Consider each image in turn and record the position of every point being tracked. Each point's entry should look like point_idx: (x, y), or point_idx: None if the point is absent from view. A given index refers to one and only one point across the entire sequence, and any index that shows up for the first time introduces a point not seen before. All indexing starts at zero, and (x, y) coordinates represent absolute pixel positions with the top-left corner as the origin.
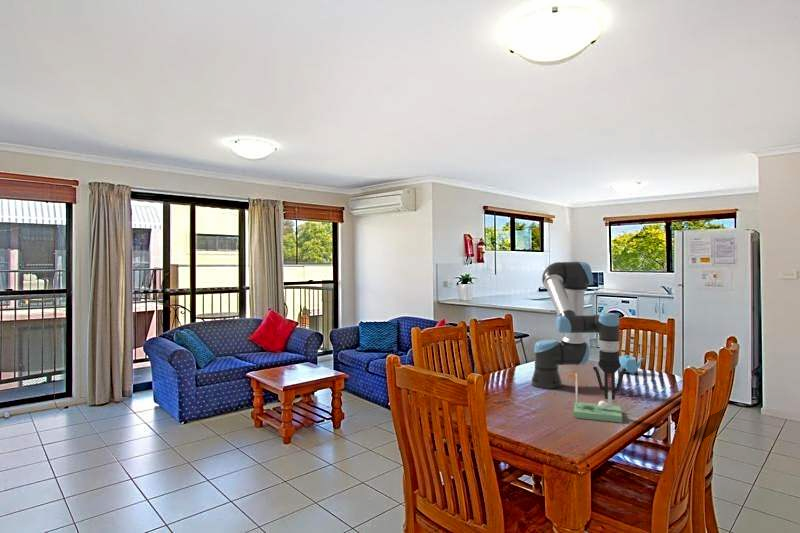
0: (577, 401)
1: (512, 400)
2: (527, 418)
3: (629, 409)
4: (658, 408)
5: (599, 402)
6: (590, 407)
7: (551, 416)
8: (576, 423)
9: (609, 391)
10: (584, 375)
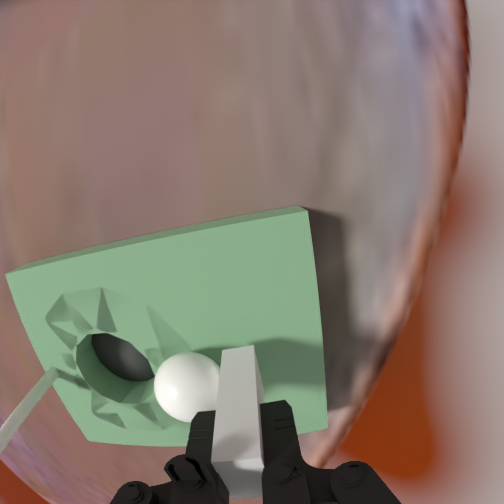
0: (42, 395)
1: None
2: (21, 446)
3: (349, 100)
4: (467, 38)
5: (165, 411)
6: (105, 330)
7: (41, 423)
8: (142, 468)
9: (243, 481)
10: None
